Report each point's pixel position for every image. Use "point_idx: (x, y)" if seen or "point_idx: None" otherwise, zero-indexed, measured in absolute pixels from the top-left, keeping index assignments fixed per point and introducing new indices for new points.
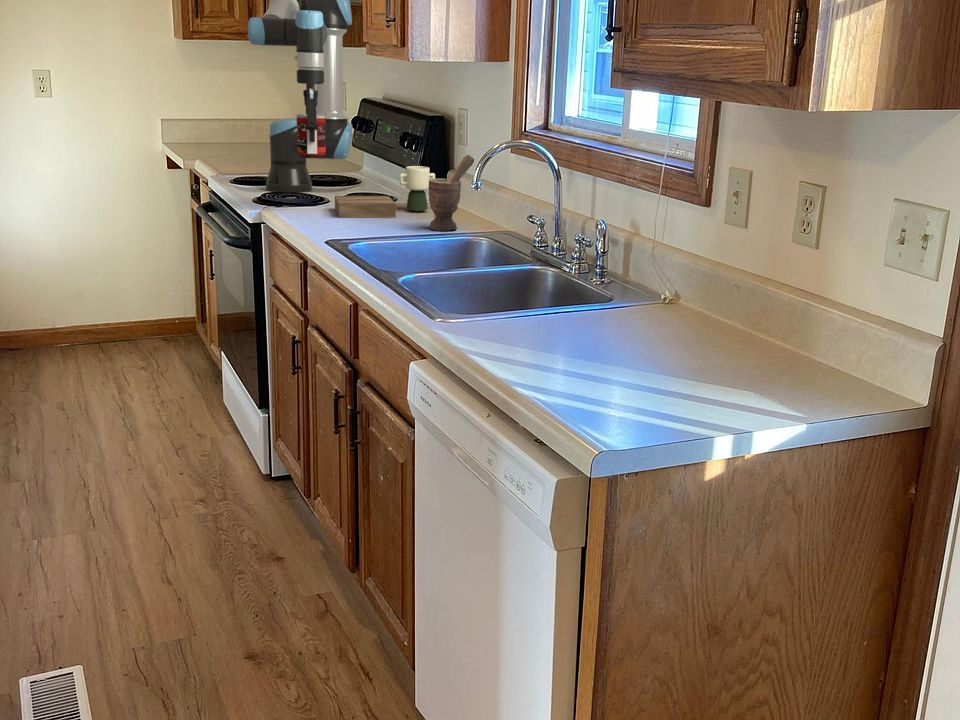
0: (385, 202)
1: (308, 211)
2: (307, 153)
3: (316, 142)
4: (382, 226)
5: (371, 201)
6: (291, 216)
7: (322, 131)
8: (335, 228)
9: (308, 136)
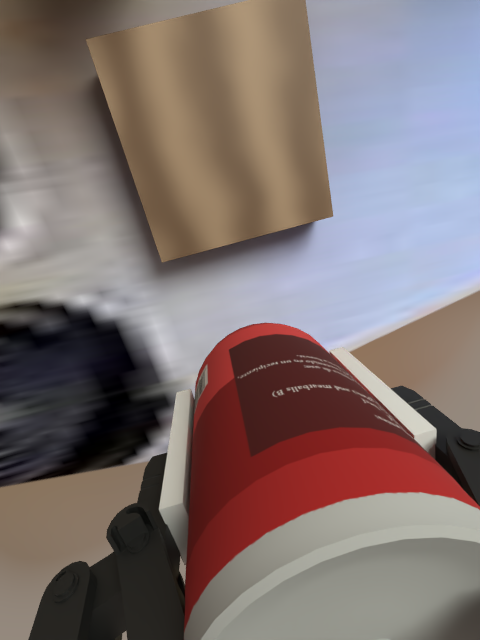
0: (277, 40)
1: (223, 318)
2: None
3: (375, 379)
4: (445, 62)
5: (263, 105)
6: None
7: (362, 394)
8: (470, 199)
9: None
